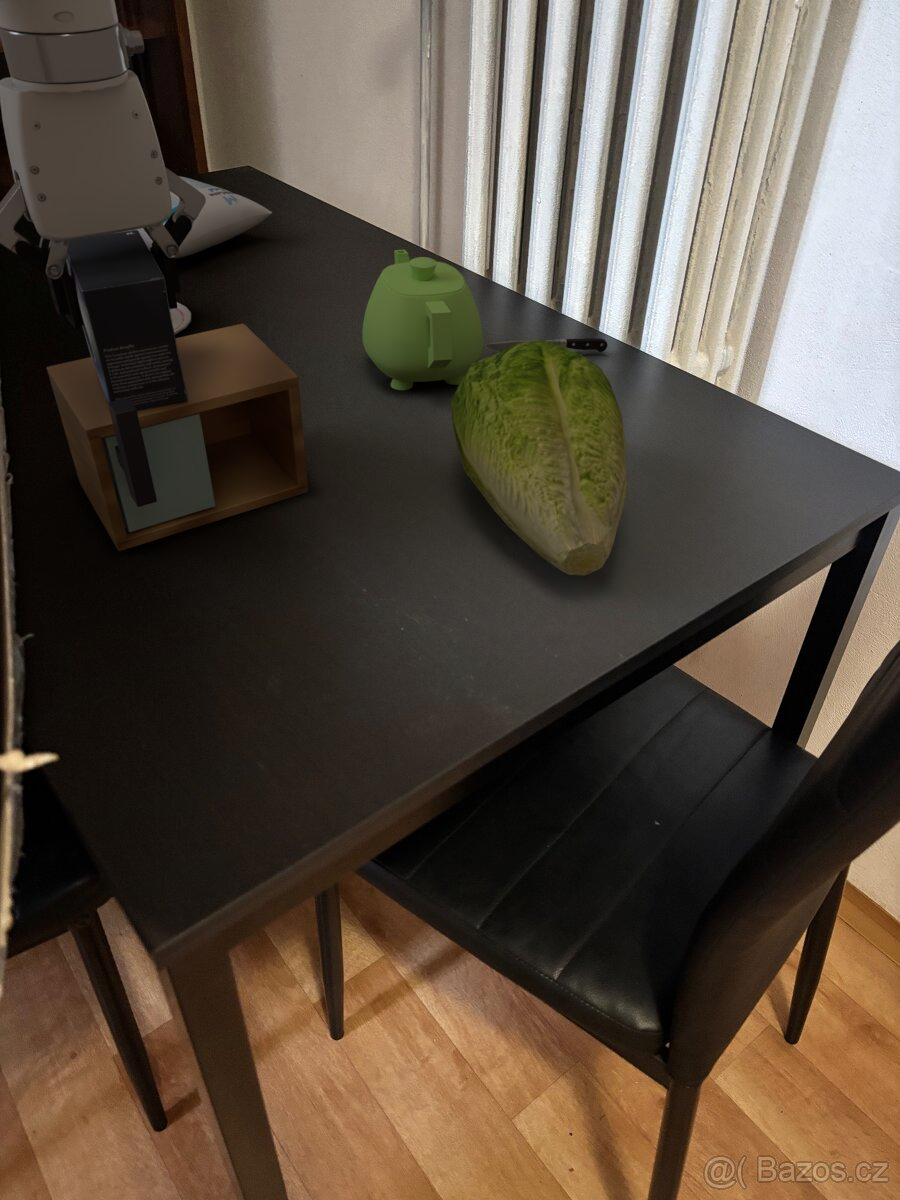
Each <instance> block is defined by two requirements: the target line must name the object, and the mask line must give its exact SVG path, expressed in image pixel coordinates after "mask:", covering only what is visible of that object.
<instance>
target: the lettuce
mask: <svg viewBox="0 0 900 1200" xmlns="http://www.w3.org/2000/svg"><path fill="white" fill-rule="evenodd" d="M535 340H536V341H529V342H522V343H517V344H515V345H513V346H511V347H509V348H507V349H505V350H503V351H498V352H496V353H495V354H492V355H490V356H487V357H484V358H482V359H479V360H478V361H477V362H474V363H472V364H471V366H470V368H469V369H468V371H467V373H466V374H465V375H464V378H463V379H462V381H461V383H460V385H457V388H456V390H455V391H454V393H453V395H452V397H451V398H450V406H451V407H450V408H451V418H452V419H451V420H452V427H453V432H454V437H455V442H456V446H457V450H458V453H459V456H460V460H461V463H462V466H463V470H464V472H465V473H466V475H467V476H468V477H469V479H470V480H471V482H472V483H473V484H474V486H475V487H476V488H477V490H478V491H479V492H480V494H481V495H482V496H483V497H484V499H485V500H486V502H487V503H488V504H489V506H490V507H491V508H492V510H493V511H494V512H495V513H496V514H497V515H498V517H499V518H500V519H501V520H502V521H503V522H504V523H505V525H506V526H507V527H508V528H509V529H510V530H511V531H512V532H513V533H515V535H517V537H518V538H520V539H521V540H522V541H523V542H524V543H525V544H526V545H527V546H529V548H530V549H531V550H533V551H534V553H536V554H537V555H538V556H539V557H541V558H542V559H543V560H545V562H547V563H548V564H550V565H552V566H553V567H555V568H556V569H557V570H559V571H561V572H562V573H564V574H566V575H569V576H587V575H589V574H591V573H594V572H596V571H598V570H600V569H602V568H603V567H604V565H605V563H606V561H607V560H608V559H609V557H610V554H611V552H612V549H613V547H614V543H615V540H616V535H617V532H618V528H619V524H620V520H621V518H622V514H623V511H624V507H625V504H626V499H627V496H628V482H627V466H626V465H627V462H626V457H627V456H626V455H627V453H626V436H625V428H624V427H625V426H624V420H623V414H622V411H621V409H620V406H619V403H618V401H617V398H616V395H615V392H614V390H613V387H612V385H611V382H610V380H609V378H608V377H607V375H606V374H605V372H604V371H603V370H602V368H601V367H600V366H599V365H597V364H595V363H594V362H592V360H589V359H588V358H587V357H585V356H583V355H582V354H580V353H578V352H576V351H574V350H573V349H570V348H567V347H562V346H560V345H557V344H554V343H551V342H548V341H545V340H546V339H535Z"/></svg>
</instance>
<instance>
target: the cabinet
mask: <svg viewBox="0 0 900 1200" xmlns="http://www.w3.org/2000/svg"><path fill="white" fill-rule="evenodd" d="M175 339H176V344H177V349H178V354H179V358H180V363H181V368H182V373H183V377H184V382H185V386H186V390H187V394H188V400H187V401H183V402H178V403H173V404H168V405H163V406H158V407H152V408H147V409H142V410H137V414H138V418H139V423H140V427H141V428H142V427H146V426H150V425H153V424H157V423H161V422H165V421H169V420H173V419H177V418H180V417H184V416H188V415H192V414H196V413H199V415H200V421H201V426H202V432H203V438H204V444H205V449H206V455H207V461H208V466H209V472H210V478H211V484H212V489H213V495H214V501H215V506H214V507H211V508H208V509H204V510H201V511H198V512H195V513H191V514H188V515H185V516H182V517H178V518H175V519H172V520H168V521H165V522H162V523H159V524H155V525H152V526H149V527H146V528H142V529H139V530H136V531H133V532H129V531H128V529H127V526H126V522H125V518H124V514H123V510H122V506H121V503H120V499H119V495H118V491H117V487H116V483H115V479H114V476H113V472H112V468H111V464H110V460H109V456H108V452H107V448H106V445H105V441H104V437H107V436H111V435H115V431H114V427H113V423H112V419H111V415H110V411H109V407H108V401H107V399H106V396H105V394H104V391H103V388H102V386H101V383H100V380H99V377H98V375H97V372H96V369H95V366H94V364H93V361H92V358H91V356H89V357H86V358H81V359H76V360H71V361H67V362H63V363H57V364H54V365H49V366H46V371H47V374H48V378H49V381H50V385H51V389H52V392H53V395H54V398H55V402H56V405H57V409H58V412H59V416H60V420H61V423H62V426H63V430H64V433H65V436H66V440H67V443H68V447H69V451H70V454H71V458H72V461H73V463H74V466H75V467H74V468H75V471H76V475H77V478H78V481H79V485H80V487H81V488H82V490H83V491H84V493H85V495H86V496H87V498H88V500H89V502H90V504H91V506H92V508H93V509H94V511H95V513H96V514H97V516H98V518H99V519H100V522H101V523H102V525H103V527H104V529H105V530H106V532H107V534H108V537H110V539H111V541H112V543H113V544H114V546H115V548H116V549H117V551H118V552H121V551H125V550H128V549H131V548H134V547H138V546H141V545H144V544H147V543H150V542H154V541H157V540H161V539H164V538H166V537H170V536H174V535H176V534H180V533H183V532H185V531H188V530H189V531H190V530H192V529H195V528H198V527H201V526H205V525H209V524H211V523H215V522H218V521H220V520H224V519H227V518H230V517H234V516H237V515H240V514H243V513H246V512H250V511H253V510H255V509H259V508H263V507H266V506H268V505H271V504H275V503H279V502H281V501H285V500H287V499H291V498H294V497H297V496H301V495H304V494H307V493H309V482H308V472H307V471H308V470H307V460H306V459H307V458H306V448H305V439H304V427H303V416H302V415H303V414H302V406H301V394H300V382H299V376H298V375H297V374H296V373H295V372H294V371H293V370H292V369H291V368H290V367H289V366H288V365H287V364H286V363H285V362H284V361H283V360H282V359H281V358H280V357H279V356H278V355H276V353H275V352H274V351H273V350H272V349H270V348H269V347H268V346H267V345H266V344H265V342H263V341H262V339H260V338H259V337H258V335H256V334H255V332H253V331H252V330H251V329H250V328H249V327H248V325H246V324H245V323H240V324H239V323H238V324H235V325H230V326H225V327H222V328H217V329H211V330H207V331H202V332H199V333H194V334H190V335H184V336H181V337H175Z"/></svg>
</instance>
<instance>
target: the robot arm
mask: <svg viewBox="0 0 900 1200" xmlns="http://www.w3.org/2000/svg"><path fill="white" fill-rule="evenodd" d="M116 6H117V5H116V2H115V0H0V40H1V45H2V48H3V52H4V56H5V61H6V63H7V68H8V73H9V75H10V77H4V78H1V79H0V110H1V118H2V126H3V130H4V131H3V132H4V137H5V142H6V147H7V152H8V158H9V162H10V166H11V171H12V177H13V180H14V183H13V185H12V186H11V188H10V189H9V190H8V191H7V193H6V195H5V196H4V197H3V198H2V200H1V201H0V245H2V246H3V247H5V248H6V249H7V250H9V251H10V252H12V253H13V254H15V255H17V256H18V257H19V258H20V259H21V260H23V261H24V262H26V263H27V264H29V265H31V266H33V268H36V269H37V270H38V271H40V272H42V273H44V274H45V275H46V278H47V282H48V287H49V290H50V294H51V297H52V301H53V304H54V308H55V310H56V313H57V314H58V316H59V317H62V316H65V317H66V318H67V320H68V321H69V322H70V324H71V325H72V328H74V329H75V330H76V329H81V328H82V329H83V327H82V325H84V324H83V320H82V315H81V312H80V307H79V302H78V298H77V294H76V290H75V286H74V282H73V279H72V277H71V276H70V275H69V272H68V270H67V267H66V258H67V254H68V249H69V245H70V241H71V240H74V239H80V238H87V237H93V236H99V235H106V234H112V233H118V232H123V231H129V230H135V229H141V228H143V229H144V230H145V232H146V233H147V234H148V236H149V237H150V239H151V240H152V241H153V242H152V247H150V252H151V254H152V256H153V258H154V260H155V261H156V263H157V265H158V267H159V268H160V270H161V272H162V274H163V276H164V277H165V281H166V290H167V295H168V303H169V308H170V309H174V308H177V296H176V294H179V293H181V285H180V284H181V283H180V279H179V273H178V268H177V262H176V259H175V257H176V256H177V255H178V254H179V247H180V245H181V244H182V242H183V241H184V239H185V238H186V236H187V235H188V233H189V232H190V231H191V229H192V223H193V222H194V220H196V218H197V216H198V215H199V213H200V211H201V210H202V208H203V206H204V205H205V202H206V198H205V196H204V195H203V194H202V193H201V192H199V191H198V190H197V189H195V188H194V187H193V186H191V185H190V184H188V183H187V182H186V181H184V180H183V179H181V178H180V177H181V176H180V177H178V176H179V175H177V174H176V173H175V172H173V171H172V170H170V169H169V168H167V167H166V166H165V162H164V158H163V154H162V150H161V146H160V142H159V137H158V135H157V131H156V128H155V124H154V121H153V117H152V115H151V111H150V108H149V105H148V102H147V99H146V96H145V93H144V90H143V88H142V85H141V82H140V79H139V77H138V75H137V74H136V73H135V72H134V71H132V70H130V63H129V62H130V60H131V57H133V56H134V55H135V54H143V53H144V52H145V41H144V38H143V35H142V33H141V31H140V30H139V29H138V30H130V29H129V28H125V27H123V24H122V23H120V22H119V18H118V13H117V12H118V11H117V7H116ZM170 191H171V192H172V193H174V194H175V195H177V196H178V197H179V199H180V202H179V205H178V206H177V207H178V208H177V210H176V211H175V212H173V213H172V214H171V211H172V203H171V195H170ZM170 215H171V216H170ZM22 216H24V218H25V219H26V221H27V222H30V223H32V224H33V225H34V228H35V230H36V232H37V234H38V235H39V236H40V241H39V244H38V245H37V244H36V243H35V242H33V241H31V240H30V239H28V238H26V236H25V237H24V236H23V235H21V234H20V233H19V232H17V231H16V230H15V226H16V224H18V222H19V221H20V219H21V218H22ZM168 218H169V219H168ZM167 219H168V220H167ZM165 220H167V222H166V223H165V225H163V224H162V222H164V221H165Z"/></svg>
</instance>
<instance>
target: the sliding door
mask: <svg viewBox="0 0 900 1200" xmlns="http://www.w3.org/2000/svg"><path fill="white" fill-rule="evenodd" d="M108 407H109V411H110V415H111V419H112V423H113V427H114V431H115V435H111V436H107V437H104V441H105V445H106V448H107V452H108V456H109V460H110V464H111V468H112V472H113V476H114V479H115V483H116V487H117V491H118V495H119V499H120V503H121V506H122V510H123V514H124V518H125V522H126V526H127V529H128V531H129V532H133V531H136V530H139V529H142V528H146V527H149V526H152V525H155V524H159V523H162V522H165V521H168V520H172V519H175V518H178V517H182V516H185V515H188V514H191V513H195V512H198V511H201V510H204V509H208V508H211V507H214V506H215V501H214V495H213V489H212V484H211V478H210V472H209V466H208V461H207V455H206V449H205V444H204V438H203V432H202V426H201V421H200V415H199V413H196V414H192V415H188V416H184V417H180V418H177V419H173V420H169V421H165V422H161V423H157V424H153V425H150V426H146V427H142V428H141V427H140V423H139V418H138V414H137V409H136V408H135V407H134V405H133V404H132V402H131V401H130V400H129V398H125V399H121V400H117V401H113V402H109V403H108Z"/></svg>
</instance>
